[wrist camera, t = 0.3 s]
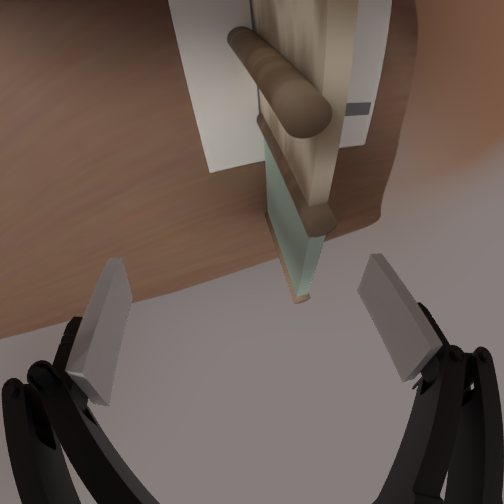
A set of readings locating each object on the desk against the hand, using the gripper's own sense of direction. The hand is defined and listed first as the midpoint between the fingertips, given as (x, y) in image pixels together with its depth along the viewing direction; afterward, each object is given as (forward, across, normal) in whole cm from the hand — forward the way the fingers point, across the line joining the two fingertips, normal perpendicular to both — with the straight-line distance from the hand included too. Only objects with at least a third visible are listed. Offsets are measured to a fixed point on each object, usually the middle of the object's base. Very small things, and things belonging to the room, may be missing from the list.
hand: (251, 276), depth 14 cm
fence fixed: (+10, +1, +12) cm, 16 cm away
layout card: (+12, +4, +12) cm, 17 cm away
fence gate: (+17, +4, -1) cm, 17 cm away
